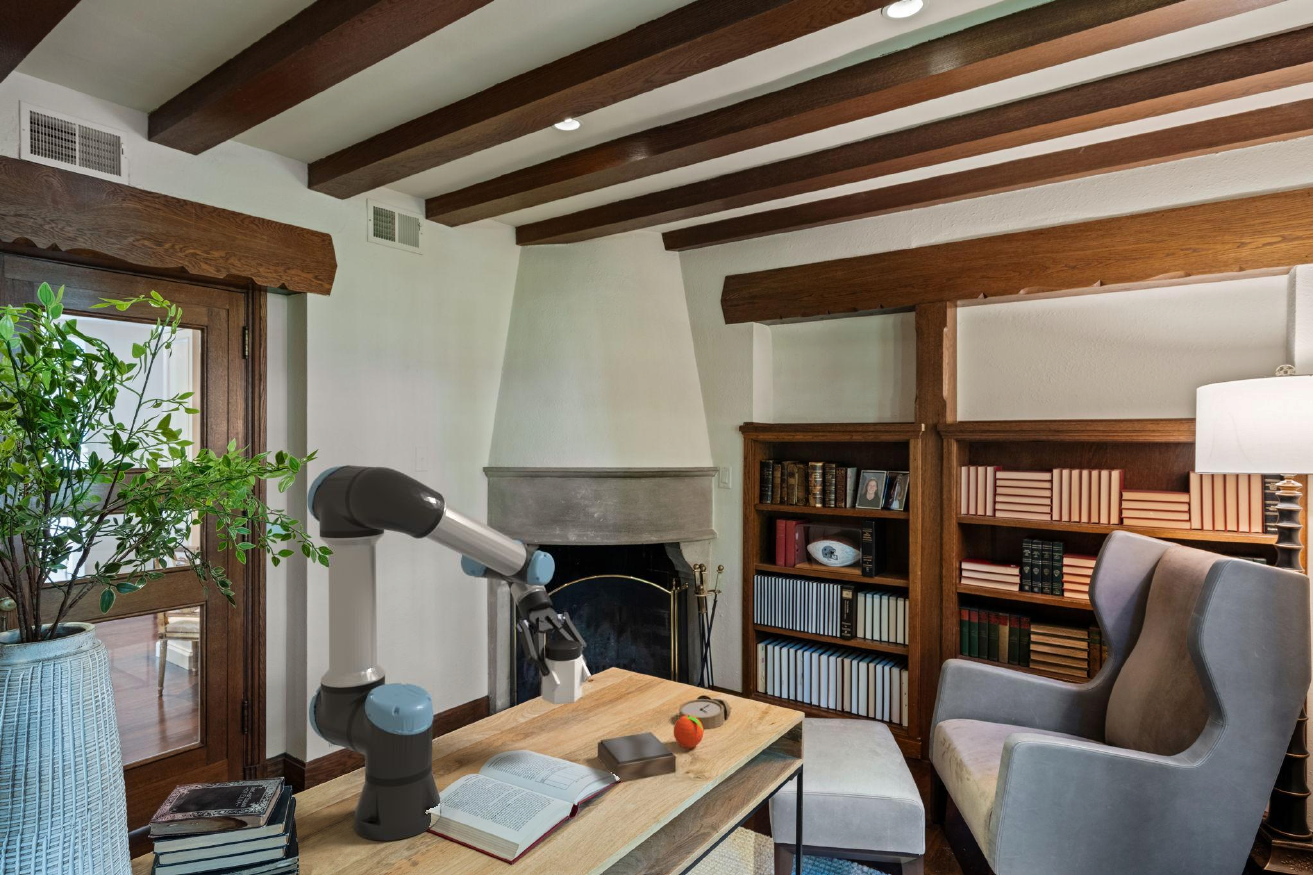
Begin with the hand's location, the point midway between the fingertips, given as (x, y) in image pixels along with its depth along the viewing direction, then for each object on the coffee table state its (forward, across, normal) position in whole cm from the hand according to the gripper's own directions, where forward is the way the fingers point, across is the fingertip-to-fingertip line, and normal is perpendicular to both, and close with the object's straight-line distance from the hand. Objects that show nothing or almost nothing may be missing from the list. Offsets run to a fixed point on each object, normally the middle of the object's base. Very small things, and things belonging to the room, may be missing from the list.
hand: (571, 683), depth 163 cm
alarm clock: (+15, -39, -9) cm, 43 cm away
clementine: (+21, -24, -2) cm, 32 cm away
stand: (+20, -8, -3) cm, 22 cm away
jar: (+1, 0, -6) cm, 6 cm away
